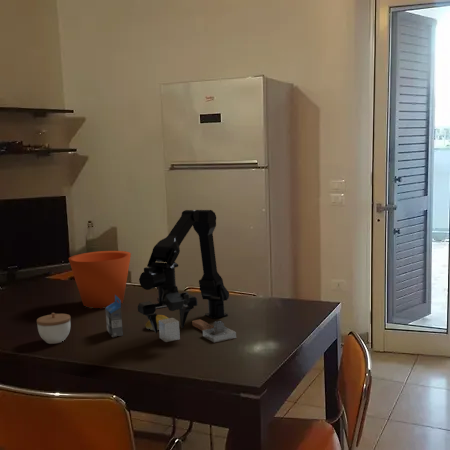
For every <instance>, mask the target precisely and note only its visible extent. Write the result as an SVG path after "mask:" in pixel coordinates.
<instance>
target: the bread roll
mask: <svg viewBox="0 0 450 450" xmlns="http://www.w3.org/2000/svg"><path fill="white" fill-rule="evenodd" d="M169 318H170V317H167V316H166V315H163V314H157V316H156V322H157V331H159V320H163V319H169ZM145 328H146V330H149V329H150V330H151V331H154V329H153V327H152V325H151V323H150V321H149V320H147V322H146V323H145Z"/></svg>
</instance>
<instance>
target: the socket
mask: <svg viewBox="0 0 450 450" xmlns="http://www.w3.org/2000/svg"><path fill="white" fill-rule="evenodd" d="M168 318H169V319H163V320H159V330H158V331H159V339H161V340H162V341H163V342H164V343H168V342H174V341H178V340H181V337H180V335H181V334H180V332H181V331H180V320H178V319H176V318H175V317H168Z"/></svg>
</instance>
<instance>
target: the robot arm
mask: <svg viewBox="0 0 450 450" xmlns="http://www.w3.org/2000/svg"><path fill="white" fill-rule="evenodd" d="M216 226H217V215H216V212H215V211H213V210H212V209H184V210H183V211H182V212H181V216H180V217H179V219H178V220H177V222H176V223H175V224H174V226H173V227H172V229H171V231H170V232H169V233H168V235H167V236H166V237H164V238H162V239H160V240H159V241H158V242H157V243H156V244H155V245H154V246H153V248H152V250H151V253H150V257H149V260H148V263H147V264H146V267H144V268H143V272H142V273H140V275H139V279H138V282H139V284H140V286H141V288H142V289H143V290H145V291H149V290H152V289H155V288H156V289H157V292H158V297H157V300H156V301H157V302H156V303H154V302H152V301H150V300H148V301H144V302H139V303H138V304H137V312H139V314H141V315H145V316H146V317H147V319H148V321H150V323H151V325H152V327H153V329H154V330H153V331H154V333H155V334H158V330H157V322H156V316H157V315H158V314H157V313H156V310H160V309H165V308H167V309H168V311H170V312H175V311H176V310H179V325H180V327H181V329H184V327H185V324H186V322H187V321H186V320H187V318H188V315H189V312H190V311H191V310H193V309H194V308H195V307H197V306H198V305H199V304H198V298H197V297H196V296H194V295H192V294H189V293H188V292H187V291H185V292H181V293H180V292H179V290H178V286H177V283H176V270H175V269H176V268H178V267H179V264H178V263H177V262H176V260H177V259H178V257H179V254H180V252H181V250H180V245H181V243H182V242H183V241H184V240H185V238H186V236H188V235H187V234H188V233H189V232H190V230H191V229H192V227H193V231H195V232H196V234H197V235H198V239H199V247H200V256H201V263H202V270H203V271H202V277H201V278H200V279H199V280H198V284H199V291H200V293H201V298H202V300H207V306H208V307H207V308H208V309H207V311H208V312H206V313H204V314H205V316H207V317H208V318H210V319H216V318H222V317H227V316H229V314H228V313H227V312H225V301H228V299H230V298H229V297H230V292H229V291H228V289H227V288H226V286H225V285H224V280H223V278H222V276H221V275H220V274H219V272H218V269H217V260H216V259H217V258H216V251H215V243H214V236H213V233H214V231H215V229H216V228H217V227H216Z"/></svg>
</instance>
